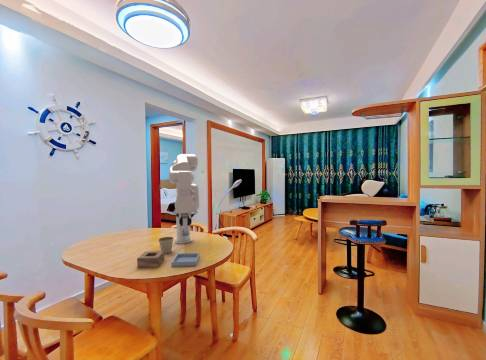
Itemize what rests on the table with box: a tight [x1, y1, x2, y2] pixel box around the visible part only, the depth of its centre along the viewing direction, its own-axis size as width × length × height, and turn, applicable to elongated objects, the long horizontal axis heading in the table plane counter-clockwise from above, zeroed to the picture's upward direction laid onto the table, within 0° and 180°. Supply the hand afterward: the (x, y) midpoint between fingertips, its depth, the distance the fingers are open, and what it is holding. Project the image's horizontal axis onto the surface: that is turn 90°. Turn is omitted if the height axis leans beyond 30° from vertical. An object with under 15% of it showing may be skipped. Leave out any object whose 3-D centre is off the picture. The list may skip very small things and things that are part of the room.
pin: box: [181, 213, 189, 236], centre depth 128 cm, size 5×5×12 cm
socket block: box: [136, 250, 165, 269], centre depth 127 cm, size 11×11×5 cm
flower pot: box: [157, 236, 175, 255], centre depth 145 cm, size 9×9×9 cm
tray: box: [171, 252, 200, 268], centre depth 129 cm, size 13×13×2 cm
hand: (185, 225), depth 129 cm, fingers closed on pin, 3 cm apart
